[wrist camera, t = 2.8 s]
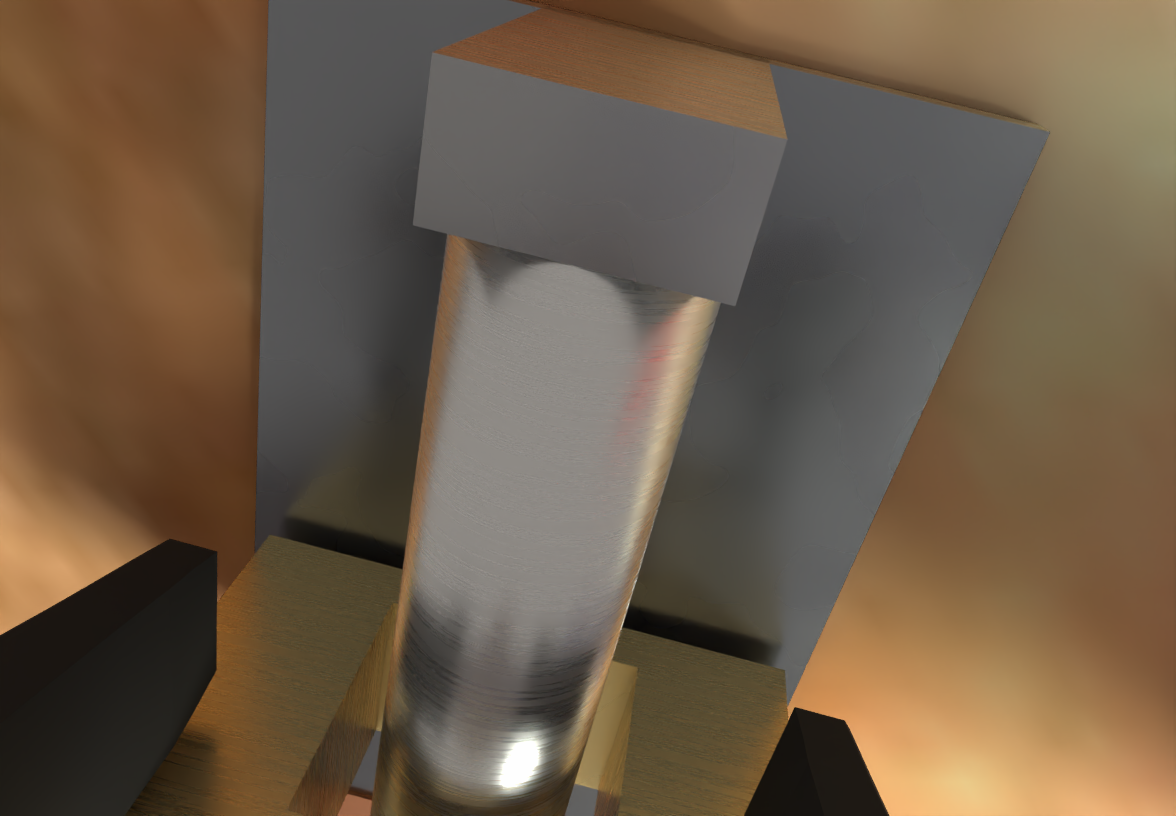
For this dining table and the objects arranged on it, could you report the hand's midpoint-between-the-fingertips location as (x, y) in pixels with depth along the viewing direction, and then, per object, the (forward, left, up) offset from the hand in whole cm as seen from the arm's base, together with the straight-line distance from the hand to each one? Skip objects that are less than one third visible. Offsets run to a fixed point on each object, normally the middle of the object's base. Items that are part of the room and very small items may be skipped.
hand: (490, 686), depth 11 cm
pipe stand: (0, +4, -4) cm, 6 cm away
